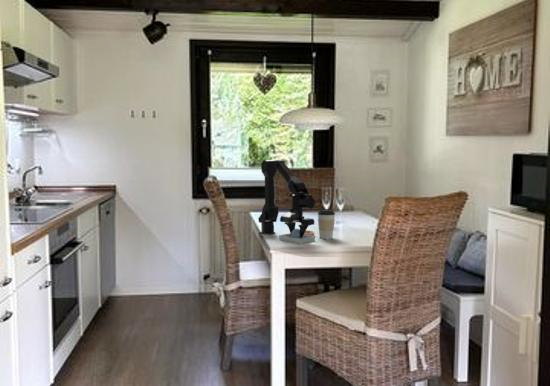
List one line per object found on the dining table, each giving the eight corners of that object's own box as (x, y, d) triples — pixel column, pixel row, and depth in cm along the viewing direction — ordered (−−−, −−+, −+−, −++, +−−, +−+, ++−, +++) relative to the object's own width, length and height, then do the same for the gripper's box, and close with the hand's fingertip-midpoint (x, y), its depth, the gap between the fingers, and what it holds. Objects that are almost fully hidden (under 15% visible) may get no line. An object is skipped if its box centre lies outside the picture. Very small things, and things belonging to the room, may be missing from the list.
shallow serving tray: (278, 239, 271) (278, 235, 270) (292, 236, 278) (292, 232, 278) (300, 243, 260) (301, 239, 260) (314, 240, 268) (314, 236, 267)
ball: (288, 239, 269) (289, 228, 268) (296, 238, 273) (296, 227, 272) (297, 241, 265) (297, 230, 265) (304, 239, 269) (304, 228, 269)
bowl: (291, 235, 282) (291, 231, 282) (303, 233, 290) (303, 229, 289) (305, 237, 276) (305, 234, 275) (318, 235, 283) (318, 231, 282)
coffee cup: (333, 236, 281) (333, 208, 280) (335, 239, 272) (336, 210, 271) (316, 236, 281) (316, 208, 279) (318, 239, 272) (318, 210, 270)
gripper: (272, 206, 268) (272, 236, 270) (300, 209, 255) (300, 241, 257) (287, 204, 276) (287, 234, 278) (315, 207, 263) (314, 238, 265)
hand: (296, 237), depth 269 cm, fingers closed on ball, 6 cm apart
